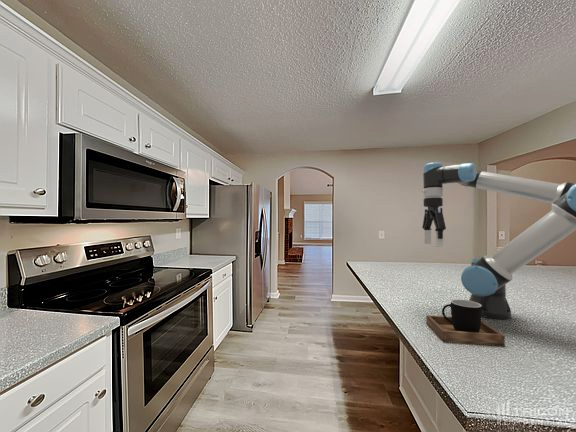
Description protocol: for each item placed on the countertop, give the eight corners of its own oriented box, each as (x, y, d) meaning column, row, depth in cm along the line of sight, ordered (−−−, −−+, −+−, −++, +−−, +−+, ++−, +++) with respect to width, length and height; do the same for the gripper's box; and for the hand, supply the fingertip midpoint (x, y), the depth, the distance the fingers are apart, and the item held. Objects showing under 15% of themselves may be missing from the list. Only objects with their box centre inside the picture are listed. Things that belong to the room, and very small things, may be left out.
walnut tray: (478, 327, 97) (478, 318, 97) (504, 346, 82) (504, 335, 83) (426, 323, 100) (426, 315, 100) (442, 341, 85) (442, 331, 85)
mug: (485, 333, 90) (485, 303, 90) (477, 340, 84) (477, 309, 85) (446, 322, 99) (446, 296, 99) (437, 329, 93) (437, 300, 94)
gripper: (415, 200, 131) (415, 242, 130) (434, 195, 106) (435, 247, 105) (431, 200, 129) (431, 243, 129) (455, 194, 105) (455, 248, 104)
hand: (433, 245), depth 117 cm, fingers open, 13 cm apart
